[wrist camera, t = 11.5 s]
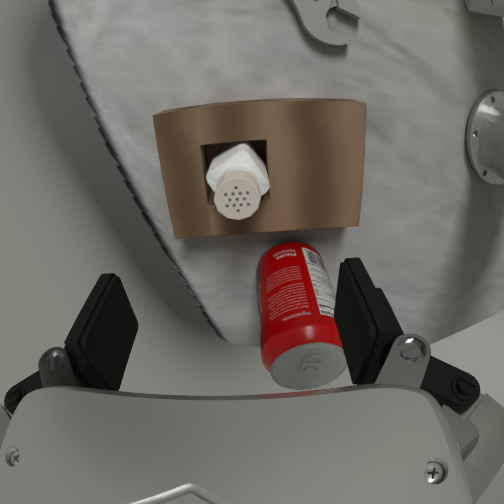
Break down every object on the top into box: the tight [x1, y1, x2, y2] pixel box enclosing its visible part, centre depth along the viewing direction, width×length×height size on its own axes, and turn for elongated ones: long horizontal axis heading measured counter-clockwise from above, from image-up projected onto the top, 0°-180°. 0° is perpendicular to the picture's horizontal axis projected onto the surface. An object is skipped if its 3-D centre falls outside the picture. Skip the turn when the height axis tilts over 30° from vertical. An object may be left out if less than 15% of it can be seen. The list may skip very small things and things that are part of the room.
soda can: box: [257, 242, 347, 390], centre depth 29 cm, size 8×8×15 cm
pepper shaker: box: [206, 141, 270, 220], centre depth 24 cm, size 4×4×10 cm
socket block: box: [153, 98, 366, 239], centre depth 27 cm, size 18×12×4 cm, turn 94°
